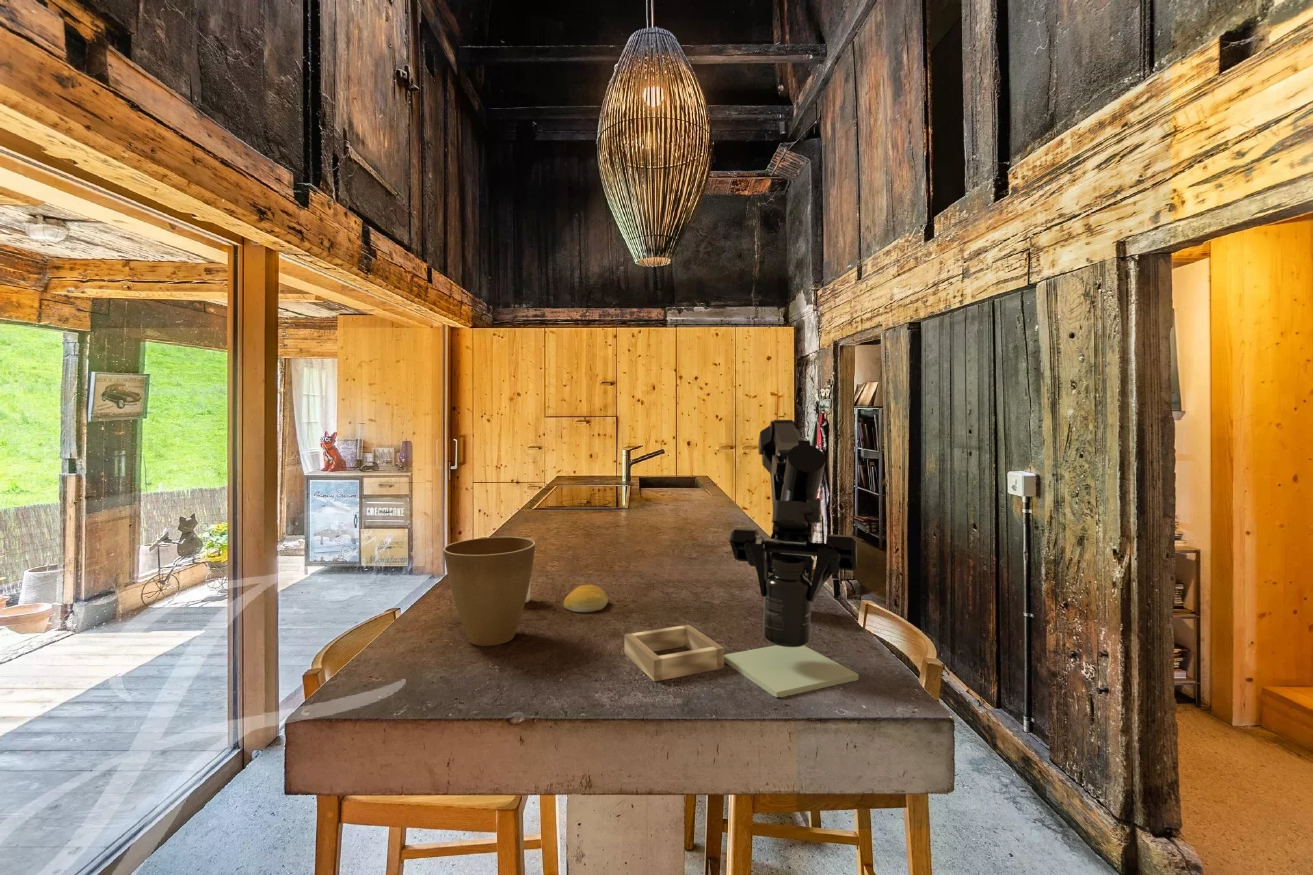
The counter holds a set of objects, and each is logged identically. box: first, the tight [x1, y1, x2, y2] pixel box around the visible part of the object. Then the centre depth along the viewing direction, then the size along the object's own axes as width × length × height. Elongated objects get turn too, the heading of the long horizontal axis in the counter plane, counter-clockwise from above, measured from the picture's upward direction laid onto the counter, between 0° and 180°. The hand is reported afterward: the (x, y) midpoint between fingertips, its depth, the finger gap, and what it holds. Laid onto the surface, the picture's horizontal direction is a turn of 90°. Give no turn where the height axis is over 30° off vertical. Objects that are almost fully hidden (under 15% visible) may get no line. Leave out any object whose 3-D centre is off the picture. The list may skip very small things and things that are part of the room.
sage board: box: [724, 645, 859, 698], centre depth 88 cm, size 14×14×1 cm
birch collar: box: [624, 624, 725, 682], centre depth 91 cm, size 11×11×3 cm
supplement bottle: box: [762, 556, 812, 647], centre depth 88 cm, size 7×7×12 cm
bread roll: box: [563, 584, 609, 614], centre depth 119 cm, size 8×9×4 cm
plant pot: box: [442, 536, 536, 647], centre depth 100 cm, size 15×15×16 cm
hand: (786, 597), depth 87 cm, fingers closed on supplement bottle, 7 cm apart
